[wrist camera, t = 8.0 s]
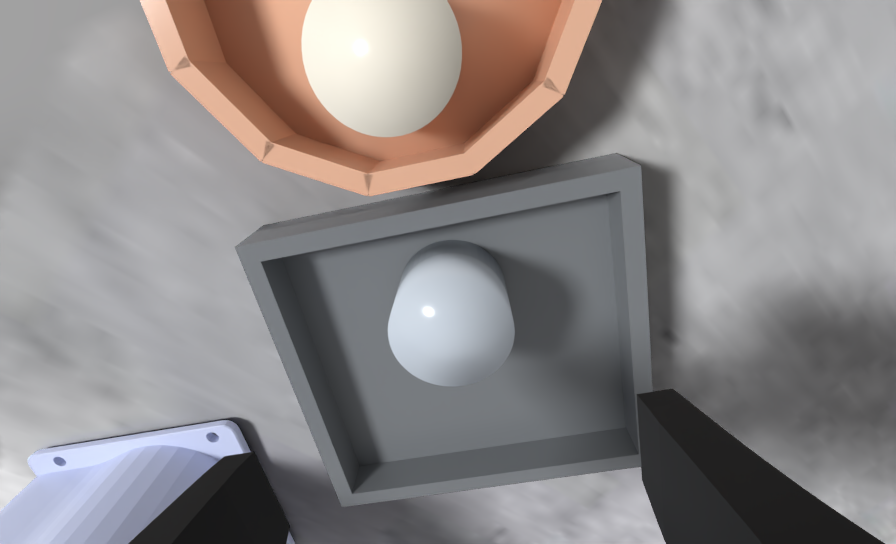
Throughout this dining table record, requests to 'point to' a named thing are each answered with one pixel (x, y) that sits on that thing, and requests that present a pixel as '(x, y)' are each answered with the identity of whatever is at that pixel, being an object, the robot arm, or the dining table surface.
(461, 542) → the dining table surface
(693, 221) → the dining table surface
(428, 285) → the slate pebble
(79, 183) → the dining table surface
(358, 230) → the parts tray
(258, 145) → the terracotta bowl
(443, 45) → the cream pebble
